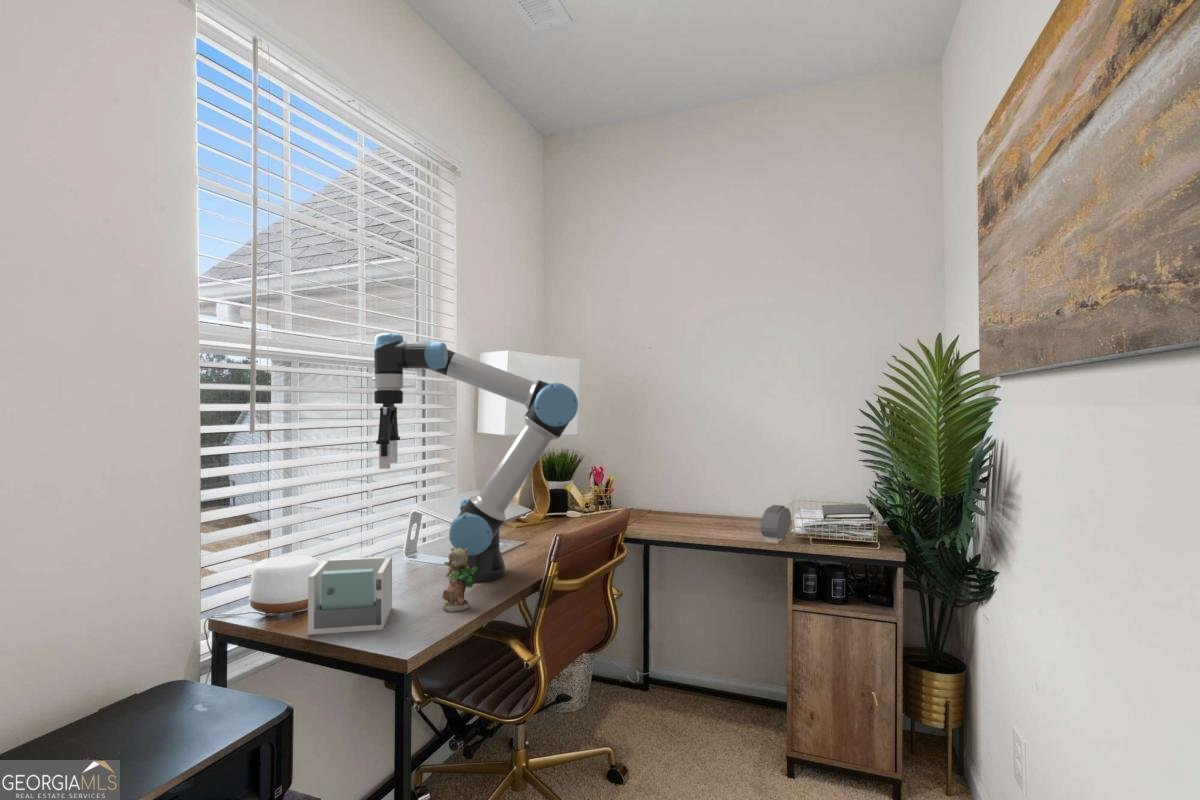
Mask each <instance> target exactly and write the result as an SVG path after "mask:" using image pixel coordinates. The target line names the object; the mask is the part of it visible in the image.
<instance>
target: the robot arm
mask: <svg viewBox="0 0 1200 800" xmlns="http://www.w3.org/2000/svg"><path fill="white" fill-rule="evenodd" d="M373 352H374V356H373V358H374V359H373V360H374V377H372V379H371V380H372V382H374V389H376V390H375V391H373V395H374V396H373V397H374V399H373V401H374V403H375V404H378V405H379V404H380V405H381V404H382V406H381V407H379V412H380V413H379V422H378V423H379V425H378V435H377V440H376V441H375V444H376V445H378V451H379V452H378V457H379V458H378V459H379V460H378V462H379V463H378V468H379V469H380V470H383V469H384V470H390V469H391V464H398V441H400V440H401V436H399V429H398V427H399V425H398V407H397V406H395V404H396V405H398V404H403V402H404V391H403V390H402V389H403V388H404V369H422V370H423V369H426V370H428V371H429V370H430V371H433V372H436V373H439V374H441V375H443V376H446V377H449V378H452V379H455V380H456V381H457V380H458V381H460V382H463V383H465V384H467V385H471V386H473V387H476V388H478V389H482V390H484V391H487V392H490V393H492V394H494V395H497V396H500V397H503V398H505V399H508V400H511V401H514V402H516V403H519V404H521V405H523V406H525V407H526V410H527V411H526V413H525V414H524V421H525V424H524V426H523V427H522V429H521V430H520V432H519V433H518V435H517V437H516V438H515V439H514V441H513V442H512V443H511V445H510V447H509V448H508V450H507V451H506V453H505V454H504V455H503V457H502V459H501V460H500V462H499V463H498V465H497V466H496V468H495V469H494V470H493V472H492V474H491V475H490V477H489V479H488V480H487V482H486V483H485V484H484V486H483V488H481V491H480V492H479V493H478V494H476V495H472V496H470V497H469V499H468V498H467V499H463V500H461V501H460V505H459V506H460V507H459V510H460V512H459V514H458V515H457V516H456V518H454V520H452V522H451V524H450V526H449V531H448V532H449V533H448V538H449V541H450V544H451V545H452V548H454V549H458V547H459V548H462V549H463V550H465V548H466V549H468V551H467V556H468V560H467V564H468V567H469V569H471V568H473V567H477V568H478V570H477V573H475V574H474V575H473V576H472V578H473V582H474V583H478V582H479V583H481V582H488V581H489V582H490V581H494V580H497V579H500V578H502V577H504V576H505V574H506V564H505V561H504V558H503V556H502V552H501V549H500V540H501V539H500V528H501V526H502V525H503V523H504V522H505V521H506V514H505V511H506V509H507V508H508V507H509V505H510V503H511V502H512V501H513V499H514V498H515V497H516V495H517V492H518V491H519V490H520V488H521V487H522V485H523V484H524V482H525V481H526V479H527V478H528V476H529V475H530V473H531V472H532V470H533V468H534V467H535V465H536V464H537V462H538V461H539V459H540V458H541V456H542V455H543V454H544V452H545V450H546V449H547V447H548V446H549V444H550V443H551V441H552V440H553V441H554V440H557V439H560V437H561V436H562V435H563V433H564V432H565V430H566V428H567V427H568V425H569V424H570V422H571V421H572V420H574V418H575V416H576V415H577V413H578V409H579V400H578V397H577V395H576V392H575V391H574V390H573V389H572V388H571V387H570V386H568V385H566V384H564V383H559V382H555V383H554V382H553V383H548V382H546V381H543V380H540V379H537V380H534V381H533V380H530V379H527V378H525V377H522V376H520V375H517V374H514V373H512V372H509V371H506V370H503V369H501V368H498V367H495V366H492V365H490V364H487V363H485V362H481V361H479V360H477V359H474V358H471V357H469V356H466V355H463V354H460V353H458V352H455V351H453V350H451V349H448V347H447V345H446V343H444V342H442V341H433V340H432V341H431V340H430V341H405V340H404V336H403V335H402V334H399V333H378V334H377V335H376V336H375V337H374V349H373ZM469 569H468V570H469Z"/></svg>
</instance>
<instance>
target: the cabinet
mask: <svg viewBox="0 0 1200 800" xmlns="http://www.w3.org/2000/svg"><path fill="white" fill-rule="evenodd" d="M355 569H374V607H359V608H343V609H327V610H322V573H323V572H324V571H336V570H355ZM307 577H308V578H307V579H308V580H307V588H308V589H307V593H308V594H307V604H308V605H307V612H308V613H307V615H308V616H307V618H308V619H307V628H308V629H307V635H309V636H310V635H313V636H314V635H326V634H337V633H338V634H340V633H351V632H352V633H355V632H367V631H368V632H370V631H381V630H382V631H383V630H384V627H385V625H386V622H387V620H388V618H389V615H390V613H391V611H392V608H393V555H392V556H391V555H389V556H379V557H378V556H376V557H375V556H374V557H357V558H356V557H355V558H351V557H350V558H334V559H333V558H332V559H331V558H327V559H326V558H325V559H324V560H323V561H322V562H321V563H320V564H319V565H318V566H317V567H315V568H314V570H313V571H312V572H311V573H310V574H309V575H308V576H307Z"/></svg>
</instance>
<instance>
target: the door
mask: <svg viewBox="0 0 1200 800" xmlns="http://www.w3.org/2000/svg"><path fill="white" fill-rule="evenodd" d="M359 607H374V569H355V570H336V571H324V572H323V573H322V610H327V609H343V608H359Z"/></svg>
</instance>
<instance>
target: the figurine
mask: <svg viewBox="0 0 1200 800" xmlns="http://www.w3.org/2000/svg"><path fill="white" fill-rule="evenodd" d="M450 551H451V552H450V553H449V555H448V557H447V558H448V561H445V562H443V564H444V565H446V566H448V572H447V573H446V574H445V577H446V578H447V579H448V582H449V585H448V587H447V589H443V592H442V599H443V600H444V601H447V602H446V603H444V605H443V606H442V609H443V610H444V611H445V612H451V613H454V612H461V611H465V610H467V609H469V607H470V605H471V604H470V603H469V601H468V600H467V599H465V592H466V589H467V588H469V589H471V588H473V587H474V584H475V582H473V578H472V576H473V575H474V574H475V573H477V570H478V568H477V567H473V568H471V569H469V567H468V564H467V560H468V556H467V551H468V549H466V548H465V550H463V549H462V548H459V547H458V549H455V548H454V547H452V548H450ZM468 569H469V570H468Z"/></svg>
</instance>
